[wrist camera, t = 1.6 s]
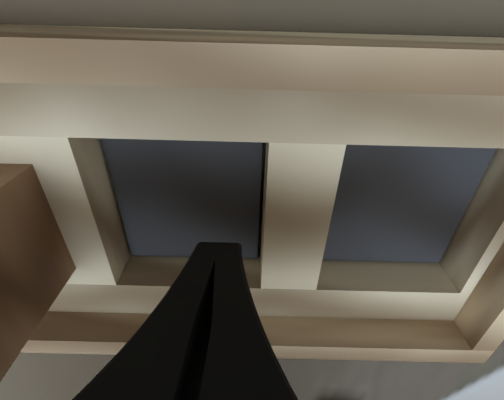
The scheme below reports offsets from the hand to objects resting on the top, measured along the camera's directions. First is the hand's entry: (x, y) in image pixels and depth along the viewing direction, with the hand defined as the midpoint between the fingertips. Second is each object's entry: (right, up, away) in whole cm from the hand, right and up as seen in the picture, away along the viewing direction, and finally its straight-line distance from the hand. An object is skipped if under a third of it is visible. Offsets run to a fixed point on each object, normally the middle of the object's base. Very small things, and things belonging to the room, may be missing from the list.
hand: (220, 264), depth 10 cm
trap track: (-4, +2, +3) cm, 6 cm away
